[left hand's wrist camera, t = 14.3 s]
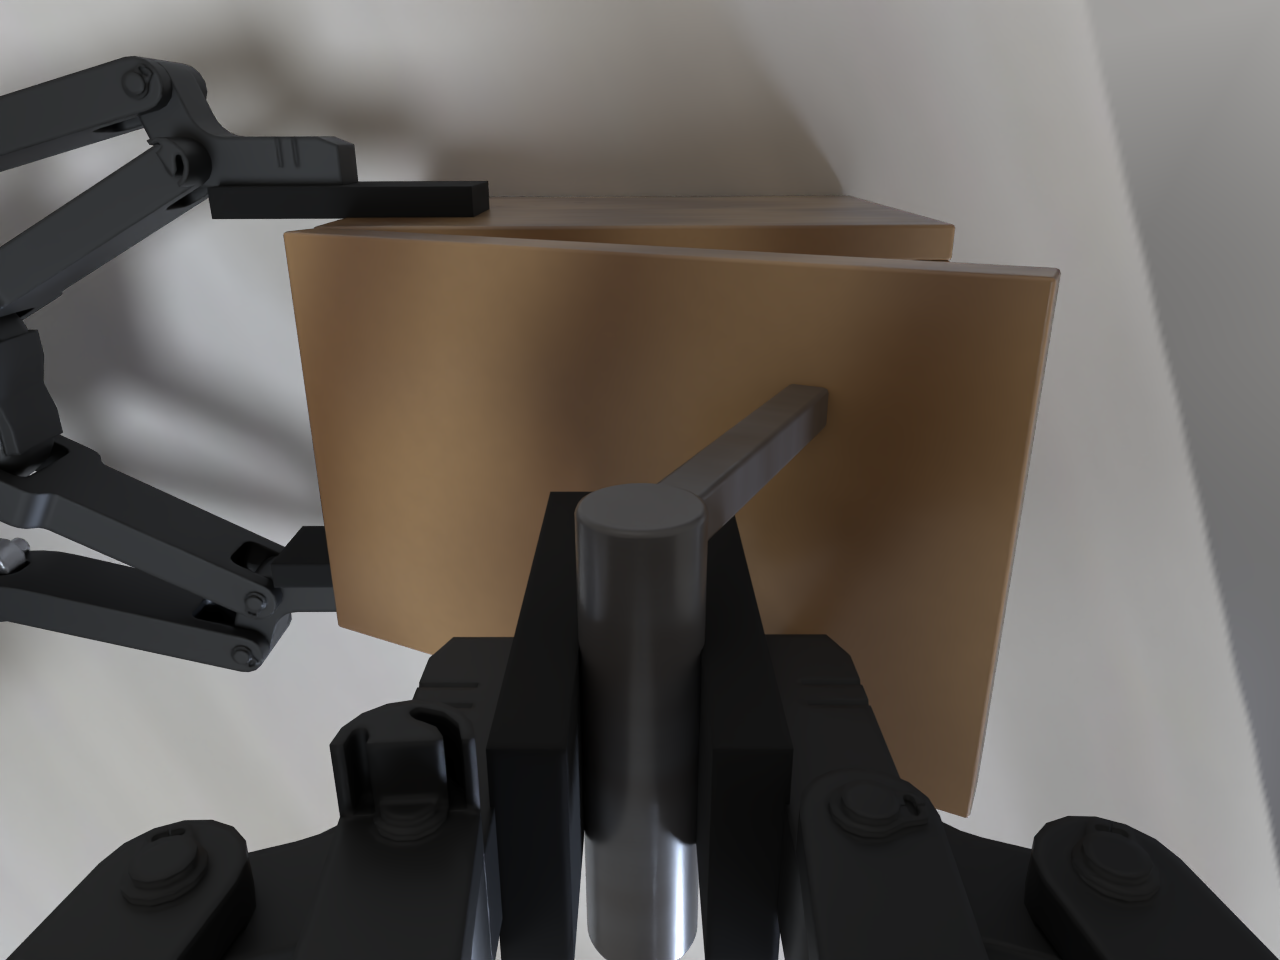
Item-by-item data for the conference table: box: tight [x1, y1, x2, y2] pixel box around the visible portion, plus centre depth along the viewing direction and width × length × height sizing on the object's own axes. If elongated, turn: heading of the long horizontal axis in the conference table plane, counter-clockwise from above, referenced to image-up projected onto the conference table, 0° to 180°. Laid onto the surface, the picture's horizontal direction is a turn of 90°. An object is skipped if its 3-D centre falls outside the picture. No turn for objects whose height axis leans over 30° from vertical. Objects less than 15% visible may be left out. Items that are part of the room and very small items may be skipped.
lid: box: [284, 228, 1061, 960], centre depth 15 cm, size 15×10×8 cm, turn 91°
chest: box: [314, 196, 955, 262], centre depth 27 cm, size 14×10×10 cm, turn 90°
